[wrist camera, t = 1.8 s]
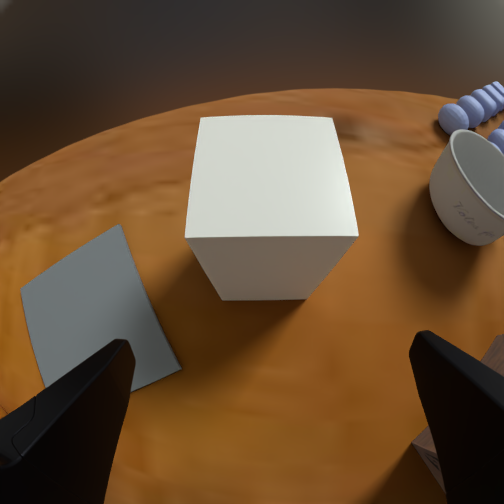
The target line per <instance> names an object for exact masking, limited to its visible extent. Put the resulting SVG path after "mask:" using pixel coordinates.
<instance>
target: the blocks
mask: <svg viewBox="0 0 504 504" xmlns="http://www.w3.org/2000/svg"><path fill="white" fill-rule="evenodd" d="M502 110H504V88H503V87H502V86H501V85H500V84H499V83H498V82H493V83H492V84H491V85H487V86H484V87H483V89H478V90H475V91H473V92H472V94H471V96H463V97H461V98H460V99H459V100H458V102H457V103H456V104H446V105H444V106H443V107H442V108H441V109H440V111H439V114H438V120H439V124H440V126H441V128H442V129H443V130H444V131H445V132H446V133H447V134H448V135H451V134H452V133H453V132H454V131H456V130H460V129H463V130H468V127H469V128H475V127H477V126H478V125H479V124H480V123H481V122H486V121H487V120H488V119H489V118H490V117H491V116H495V115H496V114H497V113H498V112H499V111H502ZM487 140H488V141H490V142H491V143H492V144H493V145H494V146H495V147H496V148H498V149H499V150H500V151H501V152H502V153H503V155H504V121H503V122H502V123H501V125H500V126H499V127H498V129H495V130H494V131H493V132H492V133H491V134H490V135H489V137H488V139H487Z"/></svg>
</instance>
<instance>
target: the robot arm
mask: <svg viewBox="0 0 504 504" xmlns="http://www.w3.org/2000/svg"><path fill="white" fill-rule="evenodd" d="M409 358H410V362H411V366H412V370H413V374H414V378H415V382H416V386H417V390H418V394H419V397H420V400H421V403H422V406H423V409H424V412H425V415H426V419H427V422H428V425H429V428H430V432H431V435H432V439H433V442H434V446H435V449H436V453H437V457H438V461H439V465H440V469H441V474H442V478H443V483H444V488H445V492H446V499H447V504H504V376H502V375H501V374H499V373H497V372H496V371H494V370H493V369H491V368H490V367H488V366H486V365H485V364H483V363H482V362H480V361H478V360H477V359H475V358H474V357H472V356H470V355H469V354H467V353H465V352H464V351H462V350H461V349H459V348H457V347H456V346H454V345H452V344H451V343H449V342H447V341H446V340H444V339H442V338H441V337H439V336H437V335H436V334H434V333H433V332H431V331H429V330H425V331H419V332H418V333H417V334H416V335H415V338H414V340H413V343H412V345H411V348H410V350H409ZM135 366H136V359H135V356H134V353H133V351H132V348H131V345H130V343H129V341H128V340H126V339H119V338H116V339H114V340H112V341H111V342H110V343H108V344H107V345H105V346H104V347H103V348H101V349H100V350H98V351H97V352H96V353H94V354H93V355H91V356H90V357H89V358H87V359H86V360H84V361H83V362H82V363H80V364H79V365H77V366H76V367H75V368H73V369H72V370H70V371H69V372H68V373H66V374H65V375H63V376H62V377H61V378H59V379H58V380H56V381H55V382H54V383H52V384H51V385H50V386H48V387H47V388H45V389H44V390H43V391H41V392H40V393H38V394H37V395H36V396H34V397H33V398H31V399H30V400H29V401H27V402H26V403H24V404H23V405H22V406H20V407H19V408H17V409H16V410H14V411H12V412H11V413H9V414H8V415H6V416H4V417H3V418H1V419H0V504H104V499H105V494H106V489H107V485H108V480H109V476H110V471H111V467H112V463H113V459H114V455H115V451H116V447H117V443H118V439H119V436H120V432H121V428H122V425H123V421H124V418H125V414H126V411H127V407H128V403H129V398H130V392H131V387H132V381H133V376H134V371H135Z"/></svg>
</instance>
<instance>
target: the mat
mask: <svg viewBox="0 0 504 504" xmlns="http://www.w3.org/2000/svg"><path fill="white" fill-rule="evenodd" d="M21 295H22V301H23V307H24V312H25V317H26V321H27V326H28V330H29V334H30V338H31V342H32V346H33V350H34V353H35V357H36V360H37V363H38V366H39V370H40V373H41V376H42V378H43V381H44V384H45V387H46V388H47V387H48V386H50V385H51V384H52V383H54V382H55V381H56V380H58V379H59V378H61V377H62V376H63V375H65V374H66V373H68V372H69V371H70V370H72V369H73V368H75V367H76V366H77V365H79V364H80V363H82V362H83V361H84V360H86V359H87V358H89V357H90V356H91V355H93V354H94V353H96V352H97V351H98V350H100V349H101V348H103V347H104V346H105V345H107V344H108V343H110V342H111V341H112V340H114V339H116V338H119V339H126V340H128V341H129V343H130V345H131V348H132V351H133V353H134V356H135V359H136V366H135V371H134V376H133V381H132V387H131V392H133V391H135V390H137V389H139V388H142V387H144V386H146V385H148V384H151V383H153V382H155V381H157V380H160V379H162V378H164V377H166V376H168V375H170V374H172V373H175V372H177V371H179V370H181V369H182V368H181V366H180V364H179V362H178V360H177V358H176V356H175V354H174V352H173V350H172V348H171V346H170V344H169V342H168V340H167V338H166V336H165V334H164V332H163V329H162V327H161V325H160V323H159V321H158V319H157V316H156V314H155V312H154V310H153V307H152V305H151V303H150V300H149V298H148V296H147V293H146V291H145V288H144V286H143V283H142V281H141V278H140V276H139V273H138V271H137V268H136V266H135V263H134V260H133V258H132V255H131V252H130V250H129V247H128V244H127V241H126V238H125V235H124V232H123V229H122V226H121V225H120V224H118V225H116V226H114V227H113V228H111V229H109V230H108V231H106V232H104V233H103V234H101V235H99V236H98V237H96V238H94V239H93V240H91V241H90V242H88V243H86V244H85V245H83V246H82V247H80V248H79V249H77V250H75V251H74V252H72V253H71V254H69V255H68V256H66V257H65V258H63V259H62V260H60V261H59V262H57V263H56V264H54V265H53V266H51V267H50V268H49V269H47V270H46V271H44V272H43V273H41V274H40V275H39V276H37V277H36V278H34V279H33V280H32V281H30V282H29V283H28V284H26V285H25V286H24V287H22V288H21Z"/></svg>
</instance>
